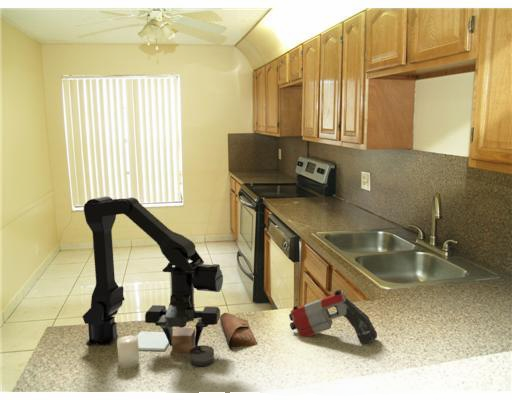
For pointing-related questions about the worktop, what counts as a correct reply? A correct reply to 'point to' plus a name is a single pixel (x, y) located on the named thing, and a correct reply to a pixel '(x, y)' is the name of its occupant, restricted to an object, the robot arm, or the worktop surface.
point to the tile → (152, 341)
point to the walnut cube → (183, 340)
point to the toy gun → (331, 317)
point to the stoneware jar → (128, 351)
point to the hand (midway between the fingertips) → (183, 345)
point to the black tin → (201, 356)
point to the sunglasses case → (237, 331)
